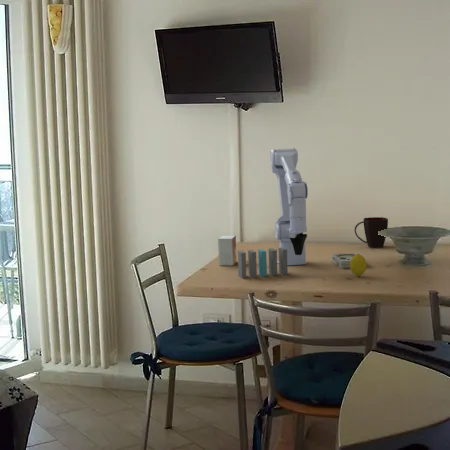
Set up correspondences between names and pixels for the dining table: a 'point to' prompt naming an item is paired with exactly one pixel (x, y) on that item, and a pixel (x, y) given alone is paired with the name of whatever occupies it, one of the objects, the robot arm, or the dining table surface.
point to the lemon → (358, 265)
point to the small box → (227, 250)
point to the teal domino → (262, 262)
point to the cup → (374, 231)
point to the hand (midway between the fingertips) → (298, 254)
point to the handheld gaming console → (342, 259)
